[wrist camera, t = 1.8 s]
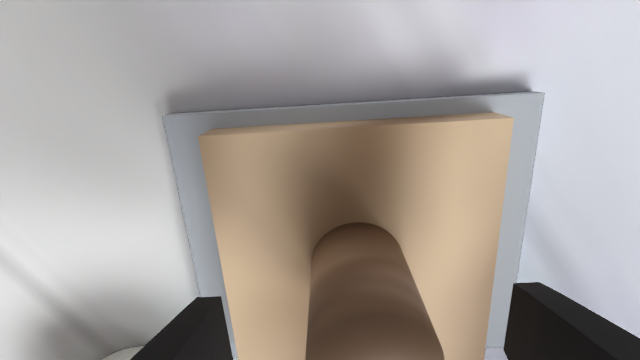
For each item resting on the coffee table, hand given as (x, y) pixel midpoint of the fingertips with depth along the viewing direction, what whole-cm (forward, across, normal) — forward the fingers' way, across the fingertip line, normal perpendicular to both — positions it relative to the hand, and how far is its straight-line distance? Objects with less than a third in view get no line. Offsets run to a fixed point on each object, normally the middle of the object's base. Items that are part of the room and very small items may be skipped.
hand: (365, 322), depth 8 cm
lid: (+4, 0, 0) cm, 4 cm away
